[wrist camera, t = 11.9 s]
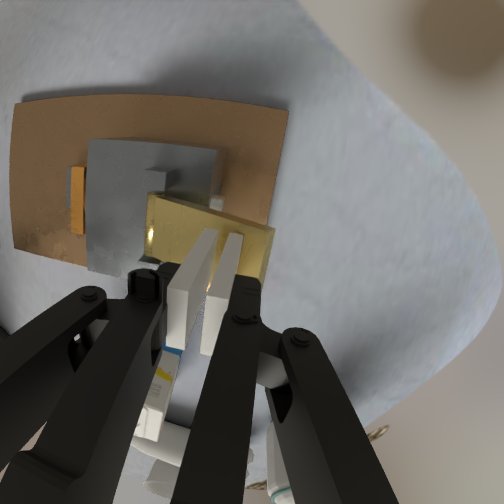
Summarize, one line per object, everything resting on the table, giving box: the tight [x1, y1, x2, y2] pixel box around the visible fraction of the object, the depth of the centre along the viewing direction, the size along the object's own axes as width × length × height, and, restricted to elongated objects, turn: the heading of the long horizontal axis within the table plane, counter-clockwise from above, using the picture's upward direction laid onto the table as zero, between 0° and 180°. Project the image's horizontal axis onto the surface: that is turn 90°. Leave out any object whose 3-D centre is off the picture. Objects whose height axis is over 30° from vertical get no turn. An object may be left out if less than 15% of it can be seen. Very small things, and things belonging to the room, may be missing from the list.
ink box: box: [134, 338, 182, 442], centre depth 32 cm, size 9×8×12 cm
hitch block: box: [9, 94, 289, 292], centre depth 23 cm, size 34×20×11 cm, turn 80°
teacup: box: [142, 459, 180, 499], centre depth 45 cm, size 12×15×10 cm
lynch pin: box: [71, 163, 225, 235], centre depth 23 cm, size 13×6×4 cm, turn 80°
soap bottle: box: [266, 421, 295, 504], centre depth 28 cm, size 12×12×31 cm
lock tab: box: [144, 191, 275, 292], centre depth 18 cm, size 9×4×1 cm, turn 80°
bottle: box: [130, 421, 254, 478], centre depth 40 cm, size 9×9×30 cm
